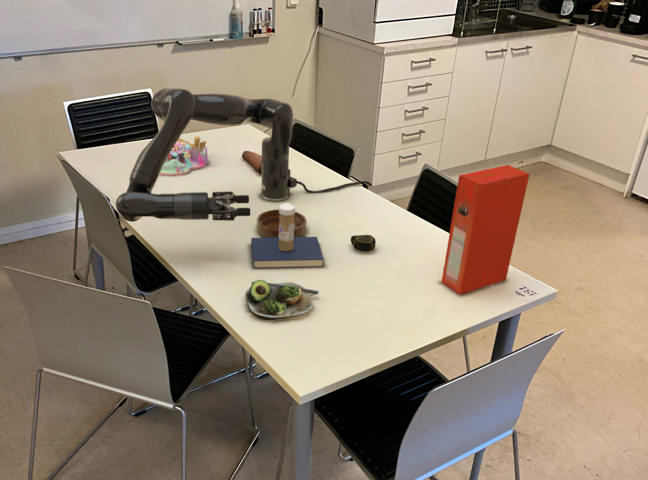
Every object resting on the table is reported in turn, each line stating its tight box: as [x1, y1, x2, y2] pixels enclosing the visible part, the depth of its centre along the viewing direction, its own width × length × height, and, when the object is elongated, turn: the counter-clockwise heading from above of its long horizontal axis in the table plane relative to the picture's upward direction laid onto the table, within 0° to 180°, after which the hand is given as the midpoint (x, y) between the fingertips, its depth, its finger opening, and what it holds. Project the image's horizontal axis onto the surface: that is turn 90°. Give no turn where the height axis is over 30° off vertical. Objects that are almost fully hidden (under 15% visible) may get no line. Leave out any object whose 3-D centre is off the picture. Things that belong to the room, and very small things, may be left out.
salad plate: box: [245, 279, 320, 321], centre depth 174 cm, size 19×18×5 cm
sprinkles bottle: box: [278, 203, 296, 251], centre depth 192 cm, size 5×5×13 cm
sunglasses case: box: [241, 150, 262, 176], centre depth 256 cm, size 18×7×7 cm
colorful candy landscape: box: [159, 136, 209, 177], centre depth 254 cm, size 25×24×9 cm
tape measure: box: [350, 234, 377, 253], centre depth 201 cm, size 7×7×4 cm
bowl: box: [256, 209, 308, 238], centre depth 209 cm, size 15×15×4 cm
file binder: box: [441, 164, 530, 295], centre depth 180 cm, size 8×17×32 cm, turn 121°
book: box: [250, 236, 324, 269], centre depth 196 cm, size 14×20×3 cm
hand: (249, 205), depth 187 cm, fingers open, 8 cm apart
